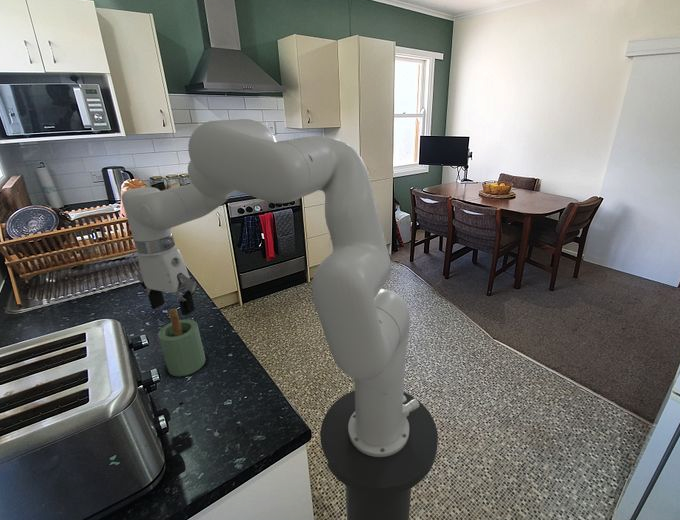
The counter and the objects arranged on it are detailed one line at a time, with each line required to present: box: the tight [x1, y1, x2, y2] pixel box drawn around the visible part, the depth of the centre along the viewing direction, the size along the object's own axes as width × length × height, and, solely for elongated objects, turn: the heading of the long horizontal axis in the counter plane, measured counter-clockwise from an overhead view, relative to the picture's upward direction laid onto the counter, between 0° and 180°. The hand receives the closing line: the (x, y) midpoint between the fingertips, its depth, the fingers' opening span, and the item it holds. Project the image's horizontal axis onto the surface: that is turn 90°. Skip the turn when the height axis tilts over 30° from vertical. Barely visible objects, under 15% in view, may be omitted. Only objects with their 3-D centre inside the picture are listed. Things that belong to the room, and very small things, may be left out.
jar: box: [157, 318, 206, 377], centre depth 88 cm, size 9×9×11 cm
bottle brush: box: [168, 308, 183, 336], centre depth 87 cm, size 3×3×16 cm
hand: (173, 309), depth 84 cm, fingers open, 9 cm apart
